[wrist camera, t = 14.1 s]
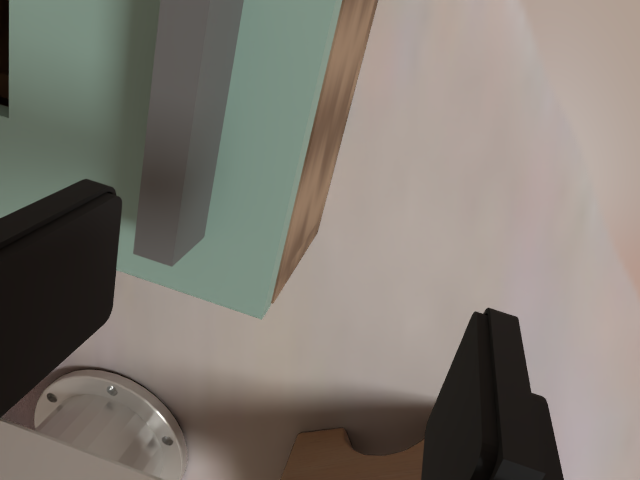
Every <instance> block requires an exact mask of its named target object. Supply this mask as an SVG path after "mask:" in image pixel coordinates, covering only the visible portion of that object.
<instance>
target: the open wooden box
mask: <svg viewBox="0 0 640 480" xmlns="http://www.w3.org/2000/svg"><path fill="white" fill-rule="evenodd" d="M377 3H378V0H342V4H341V8H340V12H339V17H338V21H337V25H336V29H335V34H334V38H333V42H332V46H331V51H330V55H329V59H328V63H327V67H326V72H325V76H324V80H323V84H322V89H321V93H320V97H319V101H318V106H317V110H316V114H315V118H314V123H313V127H312V131H311V135H310V140H309V144H308V148H307V152H306V156H305V161H304V165H303V169H302V173H301V178H300V182H299V186H298V190H297V195H296V199H295V203H294V207H293V212H292V216H291V220H290V224H289V229H288V233H287V237H286V241H285V245H284V250H283V254H282V258H281V262H280V267H279V271H278V275H277V279H276V284H275V288H274V292H273V296H272V301H271V303H274V301H275V300H276V298H277V296H278V295H279V293H280V292H281V290H282V288H283V287H284V285H285V284H286V282H287V281H288V279H289V277H290V276H291V274H292V273H293V271H294V269H295V268H296V266H297V265H298V263H299V261H300V260H301V258H302V257H303V255H304V253H305V252H306V250H307V249H308V247H309V245H310V244H311V242H312V241H313V239H314V237H315V236H316V234H317V232H318V229H319V225H320V221H321V217H322V213H323V209H324V206H325V202H326V198H327V194H328V190H329V186H330V183H331V179H332V175H333V171H334V167H335V163H336V160H337V156H338V152H339V148H340V144H341V141H342V137H343V133H344V129H345V125H346V121H347V118H348V114H349V110H350V106H351V102H352V98H353V95H354V91H355V87H356V83H357V79H358V75H359V72H360V68H361V64H362V60H363V56H364V52H365V49H366V45H367V41H368V37H369V33H370V29H371V26H372V22H373V18H374V14H375V10H376V6H377ZM0 105H3V106H7V107H9V0H0Z"/></svg>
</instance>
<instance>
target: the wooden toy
mask: <svg viewBox="0 0 640 480" xmlns="http://www.w3.org/2000/svg"><path fill="white" fill-rule="evenodd" d="M424 439H425V438H424ZM424 439H423V440H422V441H421V442H419V443H418V444H416V445H414V446H412V447H411V448H409V449H407V450H405V451H402V452H398V453H393V454H389V455H385V456H377V455H364V454H361V453H359V452H357V451H355V450H353V448H352V446H351V443H350V441H349V438H348V435H347V433H346V430H345V429H344V428H336V429H329V430H321V431H313V432H305V433H299V434H298V435H297V437H296V440H295V443H294V445H293V448H292V451H291V453H290V456H289V459H288V461H287V464H286V466H285V469H284V472H283V474H282V477H281V480H421V474H422V462H423V451H424Z"/></svg>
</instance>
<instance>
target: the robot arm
mask: <svg viewBox="0 0 640 480" xmlns="http://www.w3.org/2000/svg"><path fill="white" fill-rule="evenodd" d="M121 213H122V199H121V198H120V197H119V196H116V191H115V189H114V188H113V187H111V186H108V185H105V184H101V183H98V182H95V181H92V180H89V179H83V180H81V181H79V182H76V183H74V184H72V185H70V186H68V187H66V188H64V189H62V190H59V191H57V192H55V193H53V194H51V195H49V196H47V197H44V198H42V199H40V200H38V201H36V202H34V203H32V204H30V205H27V206H25V207H23V208H21V209H19V210H17V211H15V212H12V213H10V214H8V215H6V216H4V217H2V218H0V417H1V416H3V415H4V414H5V413H6V412H7V411H8V410H9V409H10V408H11V407H13V406H14V405H15V404H16V403H17V402H18V401H19V400H20V399H21V398H23V397H24V396H25V395H26V394H27V393H28V392H29V391H30V390H31V389H33V388H34V387H35V386H36V385H37V384H38V383H39V382H40V381H41V380H43V379H44V378H45V377H46V376H47V375H48V374H49V373H50V372H51V371H53V370H54V369H55V368H56V367H57V366H58V365H59V364H60V363H61V362H63V361H64V360H65V359H66V358H67V357H68V356H69V355H70V354H71V353H73V352H74V351H75V350H76V349H77V348H78V347H79V346H80V345H81V344H83V343H84V342H85V341H86V340H87V339H88V338H89V337H90V336H91V335H93V334H94V333H95V332H96V331H97V330H98V329H99V328H100V327H101V326H103V325H104V324H105V322H106V321H107V320H108V318H109V316H110V314H111V311H112V307H113V298H114V288H115V277H116V266H117V256H118V245H119V235H120V224H121ZM34 425H35V430H32V429H29V428H27V427H24V426H21V425H19V424H16V423H13V422H11V421H8V420H5V419H3V418H0V480H181V479H182V477H183V475H184V473H185V471H186V466H187V461H188V458H187V446H186V442H185V439H184V435H183V433H182V431H181V429H180V427H179V425H178V423H177V421H176V420H175V418H174V417H173V415H172V414H171V413H170V411H169V410H168V409H167V408H166V407H165V405H164V404H163V403H162V402H161V401H160V400H159V399H158V398H157V397H155V396H154V395H153V394H152V393H150V392H149V391H148V390H147V389H145V388H144V387H142V386H140V385H139V384H137V383H135V382H133V381H132V380H130V379H127V378H125V377H122V376H120V375H117V374H114V373H110V372H106V371H101V370H79V371H73V372H70V373H68V374H65V375H63V376H61V377H60V378H58V379H57V380H55V381H54V382H53V383H52V384H51V385H50V386H48V387H47V388H46V389H45V390H44V391H43V393H42V394H41V396H40V398H39V399H38V401H37V404H36V408H35V411H34ZM421 480H564V478H563V474H562V469H561V464H560V460H559V455H558V450H557V446H556V441H555V436H554V431H553V427H552V422H551V417H550V413H549V408H548V404H547V401H546V399H545V398H544V397H542V396H540V395H537V394H534V393H531V388H530V382H529V377H528V371H527V366H526V360H525V354H524V349H523V343H522V337H521V332H520V326H519V320H518V317H516V316H512V315H509V314H506V313H503V312H500V311H497V310H494V309H491V308H487V309H486V310H485V312H484V314H482V313H479V312H474V313H473V315H472V317H471V319H470V321H469V324H468V326H467V328H466V331H465V333H464V336H463V338H462V340H461V343H460V345H459V348H458V350H457V352H456V355H455V357H454V360H453V362H452V364H451V367H450V369H449V372H448V374H447V376H446V379H445V381H444V384H443V386H442V388H441V391H440V393H439V396H438V398H437V400H436V403H435V405H434V408H433V410H432V412H431V415H430V417H429V420H428V423H427V427H426V432H425V439H424V451H423V462H422V474H421Z"/></svg>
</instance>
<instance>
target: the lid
mask: <svg viewBox="0 0 640 480" xmlns="http://www.w3.org/2000/svg"><path fill="white" fill-rule="evenodd" d="M341 4H342V0H9V107H7V106H3V105H0V218H2V217H4V216H6V215H8V214H10V213H12V212H15V211H17V210H19V209H21V208H23V207H25V206H27V205H30V204H32V203H34V202H36V201H38V200H40V199H42V198H44V197H47V196H49V195H51V194H53V193H55V192H57V191H59V190H62V189H64V188H66V187H68V186H70V185H72V184H74V183H76V182H79V181H81V180H83V179H89V180H92V181H95V182H98V183H101V184H105V185H108V186H111V187H113V188H114V189H115V191H116V196H119V197H120V198H121V199H122V213H121V224H120V235H119V245H118V256H117V266H116V270H118V271H121V272H124V273H127V274H129V275H132V276H135V277H138V278H141V279H144V280H147V281H150V282H153V283H156V284H159V285H162V286H165V287H168V288H171V289H174V290H177V291H179V292H182V293H185V294H188V295H191V296H194V297H197V298H200V299H203V300H206V301H209V302H212V303H215V304H218V305H221V306H224V307H226V308H229V309H232V310H235V311H238V312H241V313H244V314H247V315H250V316H253V317H256V318H259V319H262V318H263V317H264V315H265V314H266V312H267V311H268V309H269V307H270V305H271V301H272V296H273V292H274V288H275V284H276V279H277V275H278V271H279V267H280V262H281V258H282V254H283V250H284V245H285V241H286V237H287V233H288V229H289V224H290V220H291V216H292V212H293V207H294V203H295V199H296V195H297V190H298V186H299V182H300V178H301V173H302V169H303V165H304V161H305V156H306V152H307V148H308V144H309V140H310V135H311V131H312V127H313V123H314V118H315V114H316V110H317V106H318V101H319V97H320V93H321V89H322V84H323V80H324V76H325V72H326V67H327V63H328V59H329V55H330V51H331V46H332V42H333V38H334V34H335V29H336V25H337V21H338V17H339V12H340V8H341Z"/></svg>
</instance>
